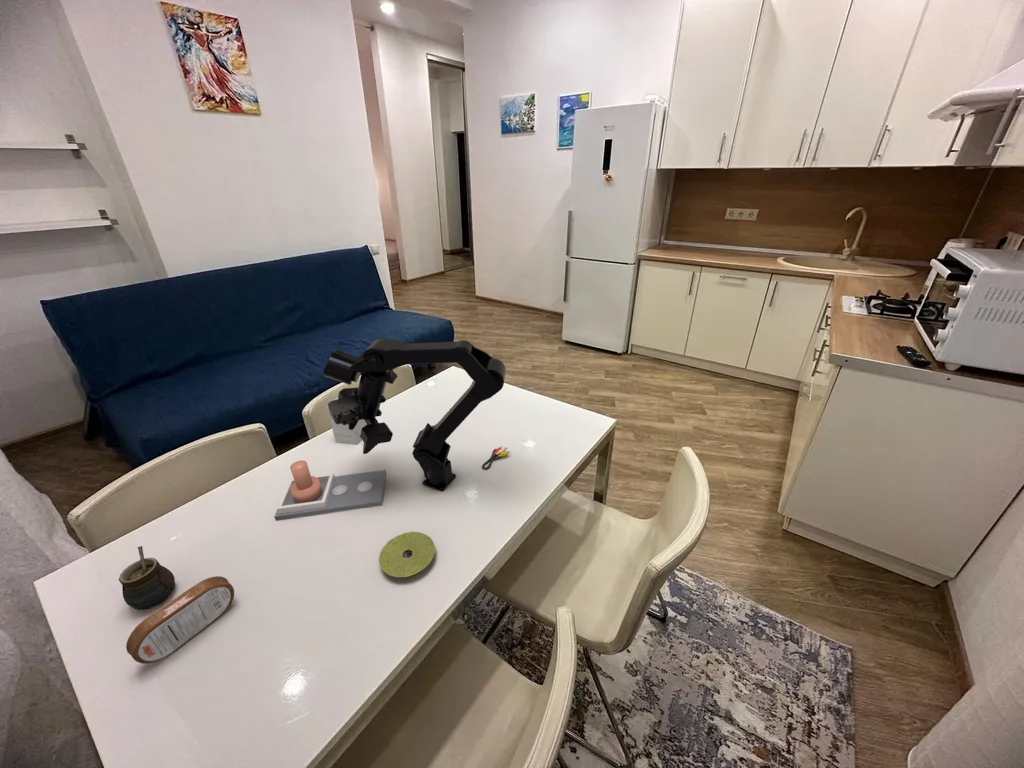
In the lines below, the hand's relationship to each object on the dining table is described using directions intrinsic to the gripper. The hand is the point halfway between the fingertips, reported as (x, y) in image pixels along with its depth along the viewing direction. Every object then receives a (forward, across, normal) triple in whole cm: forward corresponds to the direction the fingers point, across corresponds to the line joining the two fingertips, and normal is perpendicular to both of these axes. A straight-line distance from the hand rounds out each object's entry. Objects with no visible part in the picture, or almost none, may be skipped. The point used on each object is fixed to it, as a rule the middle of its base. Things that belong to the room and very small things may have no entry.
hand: (357, 441), depth 101 cm
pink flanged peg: (+14, +1, -10) cm, 18 cm away
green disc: (+5, +32, -1) cm, 33 cm away
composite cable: (-1, +17, +32) cm, 36 cm away
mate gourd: (+22, +10, -39) cm, 46 cm away
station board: (+14, +4, -5) cm, 15 cm away
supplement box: (+16, -18, +9) cm, 26 cm away
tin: (+18, +23, -35) cm, 45 cm away
